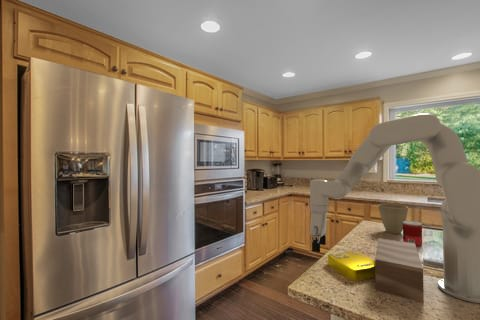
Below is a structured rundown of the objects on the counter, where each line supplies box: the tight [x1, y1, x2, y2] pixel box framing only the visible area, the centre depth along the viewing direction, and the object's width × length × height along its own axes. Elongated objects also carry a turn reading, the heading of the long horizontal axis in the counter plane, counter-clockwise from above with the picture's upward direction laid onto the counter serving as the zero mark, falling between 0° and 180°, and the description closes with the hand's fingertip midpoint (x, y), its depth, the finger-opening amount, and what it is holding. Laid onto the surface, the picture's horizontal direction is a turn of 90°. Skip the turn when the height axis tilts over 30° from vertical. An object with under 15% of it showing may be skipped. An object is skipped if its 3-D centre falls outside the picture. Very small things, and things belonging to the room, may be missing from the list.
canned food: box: [402, 220, 423, 248], centre depth 117 cm, size 8×8×11 cm
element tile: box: [327, 250, 376, 282], centre depth 91 cm, size 15×15×5 cm
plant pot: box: [378, 203, 409, 235], centre depth 137 cm, size 15×15×16 cm
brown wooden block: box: [374, 237, 425, 303], centre depth 83 cm, size 25×12×10 cm, turn 147°
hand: (319, 247), depth 98 cm, fingers open, 9 cm apart
